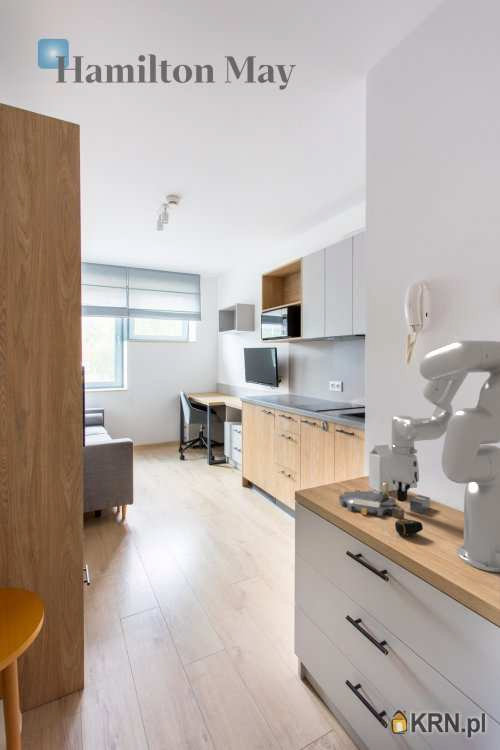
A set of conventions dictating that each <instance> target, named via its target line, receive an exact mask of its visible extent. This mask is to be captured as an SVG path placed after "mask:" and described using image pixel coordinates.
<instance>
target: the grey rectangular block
mask: <svg viewBox="0 0 500 750" xmlns="http://www.w3.org/2000/svg"><path fill="white" fill-rule="evenodd" d="M428 509H431V497H429V496H425V495H421V494H418V495H416V496H415V497H413V498H412V499H410V501H409V510H410V512H413V513H417V514H420V515H422V514H424V513H425V512H426V511H427V510H428Z"/></svg>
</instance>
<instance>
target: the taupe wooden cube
mask: <svg viewBox="0 0 500 750" xmlns="http://www.w3.org/2000/svg"><path fill="white" fill-rule="evenodd" d="M391 517H393V518H395V519H398V520H403V519H404V518H405V508H402V507H399V506H398V507H393V508H392V515H391Z"/></svg>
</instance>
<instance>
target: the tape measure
mask: <svg viewBox="0 0 500 750" xmlns="http://www.w3.org/2000/svg"><path fill="white" fill-rule="evenodd" d="M394 526H395V531H396V532H397V533H399V534H401V535H403V536H410V535H416V534H418V533H420V532H421V531H423V529H424V528H423V527H424V525H423V524H422V522H420V521H417V520H413V519H407V518H405V519H404V518H402V519H398V520H395V524H394Z"/></svg>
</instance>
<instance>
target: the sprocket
mask: <svg viewBox="0 0 500 750" xmlns="http://www.w3.org/2000/svg"><path fill="white" fill-rule="evenodd" d="M374 491H375V490H374ZM374 491H373V490H368V491H365V490H364V491H363V490H360V489H355V490H354V491H349V490H346V491H344V493H343V494H339V497H338V500H339V504H340V506H341V507H346V510H347V511H349V512H350V513H351V512H356V513H359V514H360V515H361V516H367V515H374V516H377V517H383V515H386V514H388V515H391V516H392V508H393V507H399V503H398V502H396V501H397V500H396V498H394V497H389V493H390V491H389V483H387V482H384V483H383V492H381V493H379V492H374Z"/></svg>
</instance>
